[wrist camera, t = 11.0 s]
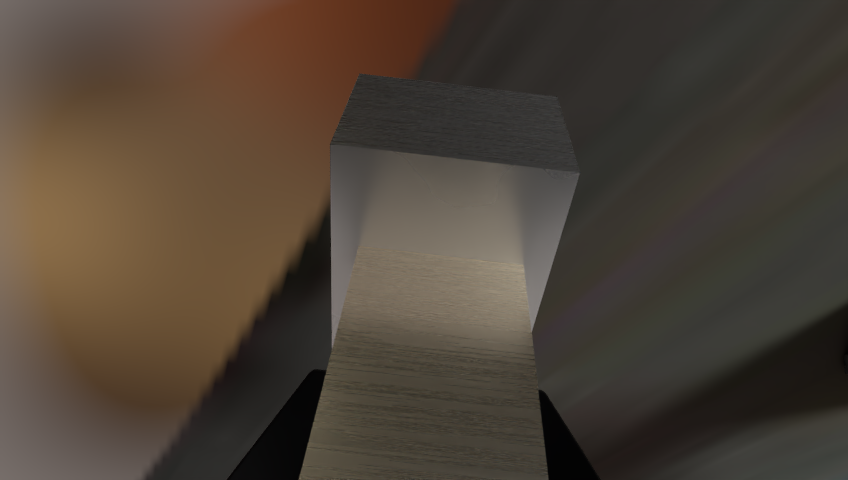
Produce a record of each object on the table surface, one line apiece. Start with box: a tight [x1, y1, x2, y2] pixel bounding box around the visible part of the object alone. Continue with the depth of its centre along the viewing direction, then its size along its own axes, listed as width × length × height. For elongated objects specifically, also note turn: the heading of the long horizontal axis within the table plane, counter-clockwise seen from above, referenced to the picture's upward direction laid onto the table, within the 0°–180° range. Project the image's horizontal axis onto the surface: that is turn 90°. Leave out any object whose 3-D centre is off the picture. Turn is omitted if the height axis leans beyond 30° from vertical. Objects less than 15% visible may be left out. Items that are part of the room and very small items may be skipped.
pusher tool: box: [299, 74, 580, 480], centre depth 10 cm, size 4×7×10 cm, turn 175°
